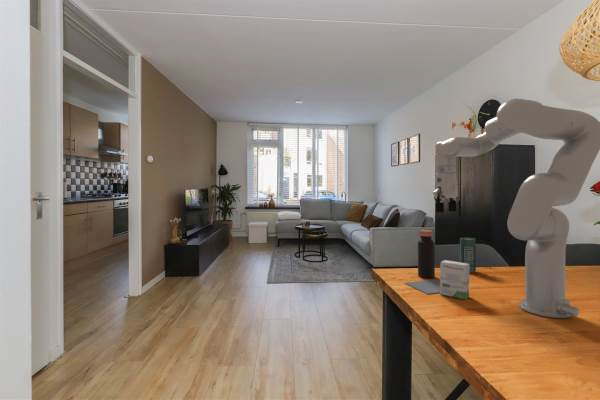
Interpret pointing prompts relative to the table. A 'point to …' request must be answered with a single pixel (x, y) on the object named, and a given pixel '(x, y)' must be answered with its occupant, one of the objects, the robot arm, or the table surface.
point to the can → (468, 252)
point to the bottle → (426, 255)
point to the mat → (426, 286)
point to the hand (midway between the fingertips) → (446, 211)
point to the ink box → (454, 279)
